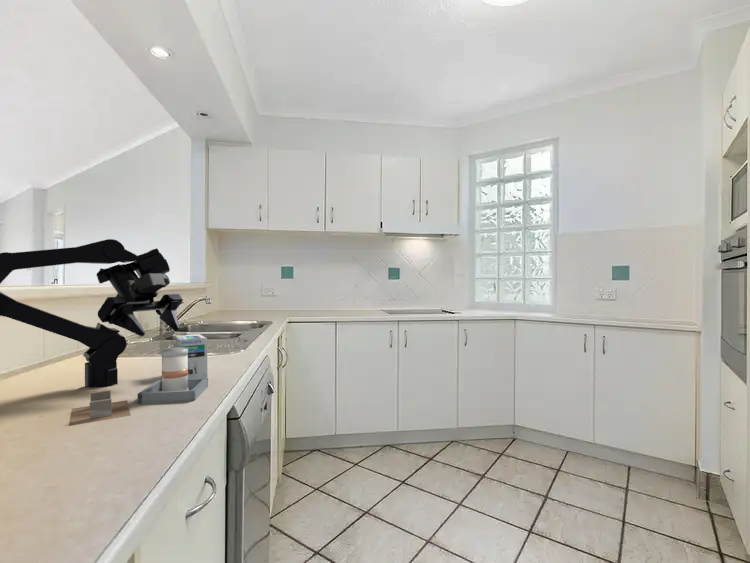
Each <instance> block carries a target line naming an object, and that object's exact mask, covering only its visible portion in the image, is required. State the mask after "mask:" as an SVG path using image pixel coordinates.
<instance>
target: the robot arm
mask: <svg viewBox="0 0 750 563" xmlns="http://www.w3.org/2000/svg"><path fill="white" fill-rule="evenodd" d="M115 263H116V265H112V266H110V267H107V268H99V271H98V272H97V273H96V274H95V275H96V278H97V280H98V284H104V283H106V282H110V284H111V286H112V287H113V289H114V291H116V293H117V294H116V295H115V296H108V297H106V299H105V300H104V302H103V303H102V305H101V307H100V308H99V309H98V311H97V317H98V319H99V320H100V321H101V322H102V323H108V324H109V325H115V326H118V327H120V328H122V329H125V330H127V331H129V332H131V333H133V334H135V335H137V336H139V337H145V335H146V332H145V329H144V328H143V326H142V325H141V323H140V322H139V320H138V318H137V317H136V316H135V314H134V312H149V311H150V312H151V311H155V312H156V314H157V315H158V316H159V317H158V318H159V319H160V320H161V321H162V322H163V323H165V324H166V325H167V326H168V327H170V328H171V329H172V330H173V331H175V332H178V331H179V330H180V325H179V320H178V315H177V309H179V307H180V306H181V304H182V303H183V301H184V299H183V298H182V296H181V295H180V294H179V293H172V294H170V293H169V294H168V293H167V294H163V295H162V297H161V298H160V300H155V298H156V297H157V296H158V295H159V293H158V291H160V290H161V289H163V288H166V287H167V286H168V285H170V283H171V281H170V278H169V276H168V275H167V273H169V272H170V271H171V270H170V269H171V268H170V264H169V262H168V260H167V259H166V258H165V256H163V255H162V253H161V252H160V251H159V249H158V248H153V249H150V250H149V251H148V252H144V253H141V254H139V255H137V254H136V253H133V252H132V251H130V250H128V249H126V248H125V245H123V244H122V243H121V242H120V241H119V240H116V239H112V238H108V239H103V240H99V241H95V242H91V243H87V244H83V245H80V246H75V247H63V248H52V249H51V248H50V249H41V250H29V251H28V250H27V251H18V252H17V251H16V252H7V251H6V252H0V284H1V283H2V282H3V281H4V280H5V279H7V277H8V276H9V275H10V274H11V273H12V272H13V271H17V270H25V269H36V268H44V267H53V266H60V265H70V264H71V265H72V264H101V265H111V264H115ZM117 263H118V264H117ZM119 263H123V264H119ZM0 317H4V318H5V317H6V318H9V319H11V320H15V321H17V322H20V323H23V324H26V325H29V326H32V327H36V328H37V329H38V328H39V329H42V330H44V331H47V332H50V333H53V334H56V335H59V336H62V337H65V338H68V339H71V340H74V341H77V342H78V343H80V344H82V345H84V346H85V347H88V349H87V350H86V351H85V352H84V353H83V356H84V358H85V360H86V361H87V362H85V363H84V386H81V387H78V390H80V389H84V388H89V389H90V388H108V387H112V386H116V385H118V383H119V380H118V371H119V369H118V368H117V366H118V364H117V363H118V362H117V360H118V358H119V356H120V355H121V354H123V353H124V351H125V350H126V348H127V344H128V343H127V340H126V338H125V336H124V335H123V334H121V333H120V330H119V329H117V328H115V327H107V326H106V325H104V324H102V323H100V322H97V323H96V325H95V326H88V325H84V324H81V323H78V322H76V321H73V320H71V319H67V318H65V317H63V316H59V315H57V314H54V313H51V312H48V311H46V310H43V309H40V308H37V307H35V306H31V305H28V304H26V303H23V302H20V301H17V300H16V299H14V298H12V297H11V296H8V295H7V294H5V293H3V292H2V291H0Z"/></svg>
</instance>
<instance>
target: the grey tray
mask: <svg viewBox="0 0 750 563" xmlns="http://www.w3.org/2000/svg"><path fill="white" fill-rule="evenodd" d="M207 388H209V377H208V378H197V379H188V390H184V391H162V379H160V380H159V379H158V380H156V381H154V382H153V383H152V384H150V385H148V386H147V387H146V388H144V389H142V390H141V391H139V392H138V393H137V405H140V404H142V405H143V404H158V403H159V404H161V403H180V402H181V403H182V402H194V401H196V400H197V399H198V398H199V397H200V396H201V395H202V393H203V392H205V390H207Z"/></svg>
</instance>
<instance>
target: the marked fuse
mask: <svg viewBox="0 0 750 563" xmlns="http://www.w3.org/2000/svg"><path fill="white" fill-rule="evenodd" d="M160 354H161V355H160V357H161V380H162V390H161V392H162V391H184V390H189V389H188V348H185V347H177V348H176V347H169V348H164V349H163V348H162V349H161V350H160Z"/></svg>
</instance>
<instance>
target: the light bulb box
mask: <svg viewBox="0 0 750 563" xmlns="http://www.w3.org/2000/svg"><path fill="white" fill-rule="evenodd" d="M174 340H175V348H177V347H185V348H188V379H197V378H208V379H209V377H208V376H209V375H208V374H209V372H208V371H209V370H208V369H209V368H208V338H207V337H206V336H203V335H202V334H201V333H196V334H195V333H193V334H177V335H176V334H175V339H174Z"/></svg>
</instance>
